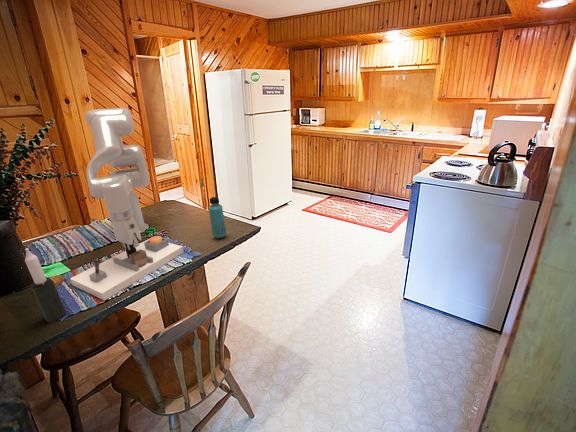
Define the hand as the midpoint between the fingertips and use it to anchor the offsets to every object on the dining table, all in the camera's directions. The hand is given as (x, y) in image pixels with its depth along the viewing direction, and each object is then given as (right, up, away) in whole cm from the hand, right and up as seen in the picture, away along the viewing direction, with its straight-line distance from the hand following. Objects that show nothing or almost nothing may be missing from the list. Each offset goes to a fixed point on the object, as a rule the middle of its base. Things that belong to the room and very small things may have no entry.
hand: (132, 256), depth 121 cm
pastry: (-28, -11, -6) cm, 31 cm away
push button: (+4, +3, +13) cm, 13 cm away
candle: (-14, -16, -22) cm, 31 cm away
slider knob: (+3, -3, -1) cm, 4 cm away
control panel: (-2, -5, +3) cm, 6 cm away
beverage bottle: (+29, +6, +25) cm, 39 cm away
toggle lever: (-8, -5, -9) cm, 13 cm away
